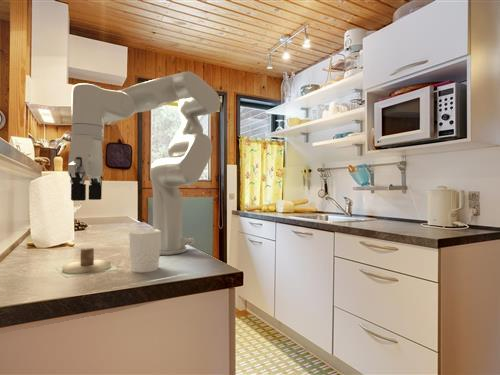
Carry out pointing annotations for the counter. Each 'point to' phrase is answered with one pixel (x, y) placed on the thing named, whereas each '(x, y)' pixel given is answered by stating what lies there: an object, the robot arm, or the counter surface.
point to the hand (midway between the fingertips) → (87, 200)
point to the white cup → (144, 250)
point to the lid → (86, 264)
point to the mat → (85, 273)
